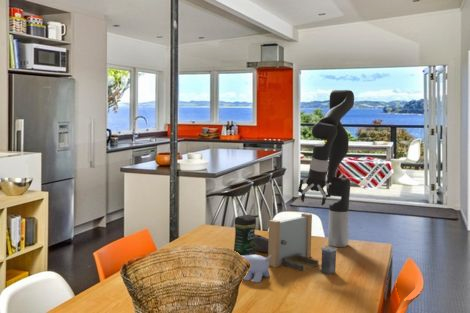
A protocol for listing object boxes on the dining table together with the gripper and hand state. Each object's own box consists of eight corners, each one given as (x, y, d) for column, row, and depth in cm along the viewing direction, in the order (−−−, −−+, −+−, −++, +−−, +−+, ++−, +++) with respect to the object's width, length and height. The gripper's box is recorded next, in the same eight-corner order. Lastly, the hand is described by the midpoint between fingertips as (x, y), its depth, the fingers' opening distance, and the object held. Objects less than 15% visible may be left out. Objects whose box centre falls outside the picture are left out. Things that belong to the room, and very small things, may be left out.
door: (303, 254, 209) (304, 213, 208) (311, 256, 206) (313, 214, 204) (268, 264, 193) (269, 220, 192) (276, 267, 190) (277, 222, 188)
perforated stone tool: (279, 254, 209) (279, 239, 209) (271, 256, 206) (271, 241, 205) (255, 247, 220) (256, 232, 220) (247, 249, 217) (248, 234, 216)
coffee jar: (244, 260, 199) (244, 218, 197) (230, 256, 204) (231, 215, 202) (258, 256, 206) (259, 215, 204) (245, 252, 211) (245, 212, 209)
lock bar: (327, 269, 188) (327, 245, 188) (336, 272, 185) (336, 248, 184) (320, 272, 185) (321, 247, 185) (329, 274, 182) (330, 250, 181)
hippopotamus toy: (243, 269, 188) (243, 246, 187) (276, 276, 180) (276, 252, 179) (229, 276, 178) (229, 252, 178) (263, 284, 171) (263, 259, 170)
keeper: (299, 259, 201) (300, 252, 201) (318, 265, 194) (318, 258, 194) (282, 265, 194) (282, 258, 193) (301, 271, 186) (301, 263, 186)
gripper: (334, 169, 203) (328, 203, 207) (302, 163, 206) (297, 197, 210) (334, 173, 196) (328, 208, 200) (301, 167, 198) (295, 203, 202)
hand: (312, 203), depth 205 cm, fingers open, 8 cm apart
